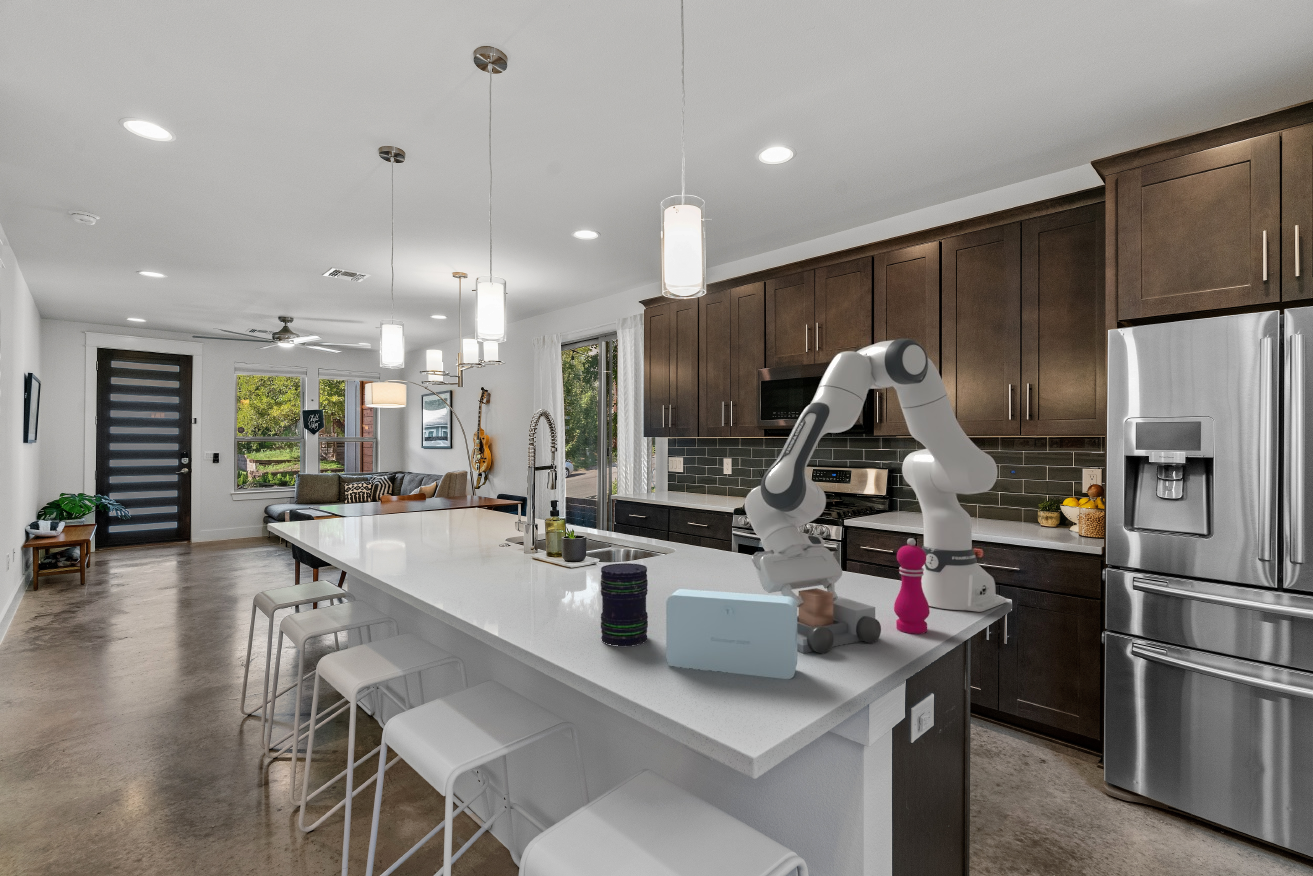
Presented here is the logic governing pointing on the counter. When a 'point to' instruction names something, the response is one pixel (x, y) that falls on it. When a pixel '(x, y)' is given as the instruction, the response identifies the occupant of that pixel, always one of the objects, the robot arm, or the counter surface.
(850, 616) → the chassis
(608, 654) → the counter surface
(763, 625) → the light blue box
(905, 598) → the pepper mill
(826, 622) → the brown rectangular block
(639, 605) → the storage jar
